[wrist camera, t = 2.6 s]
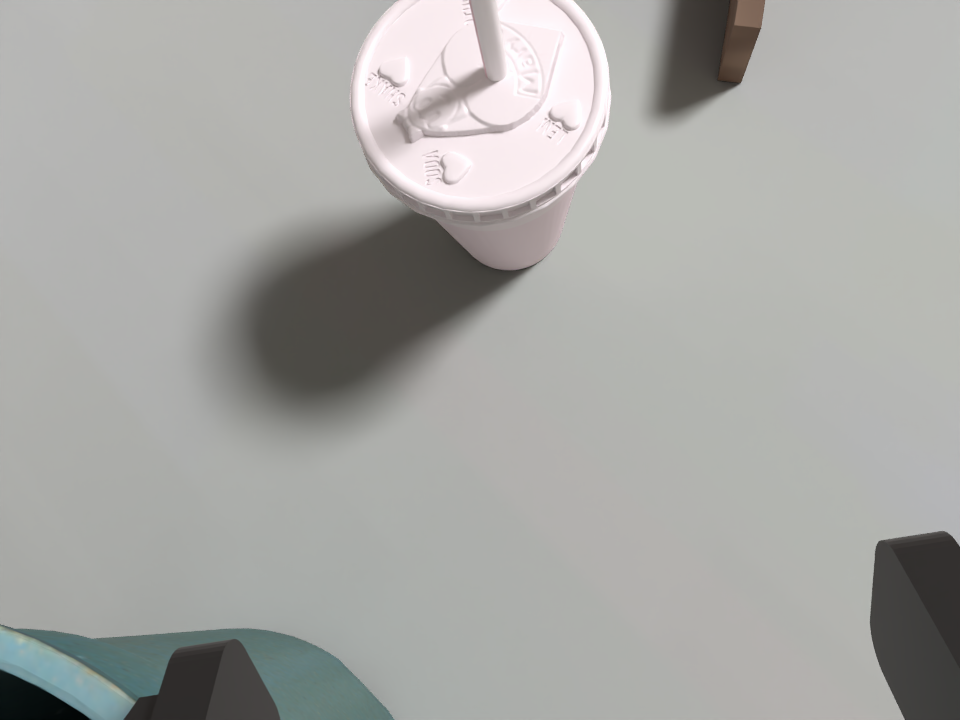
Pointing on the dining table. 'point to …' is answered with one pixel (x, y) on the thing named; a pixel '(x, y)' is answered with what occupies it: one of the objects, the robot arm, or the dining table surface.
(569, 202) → the smoothie
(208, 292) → the dining table surface
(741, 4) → the keeper
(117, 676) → the flower pot
